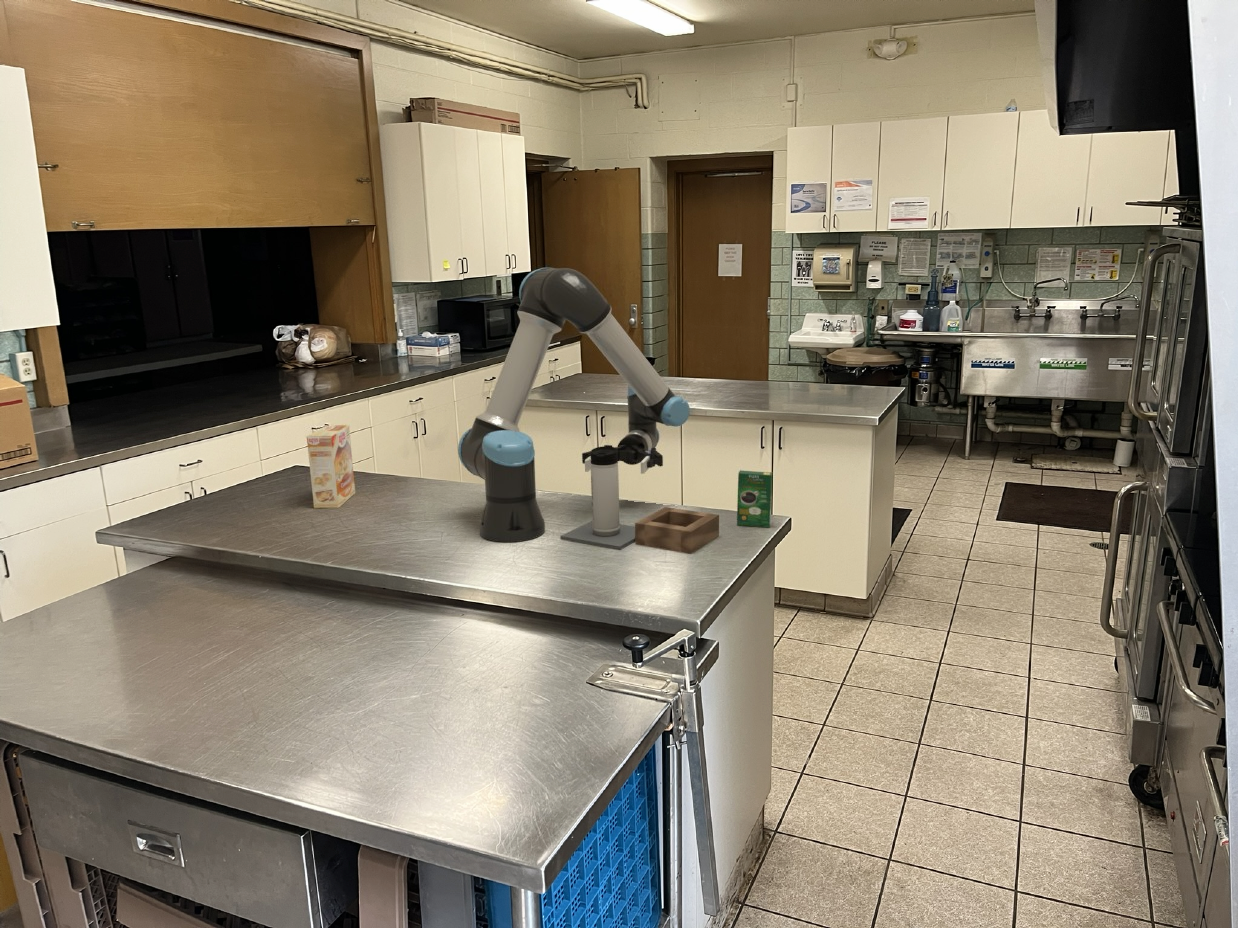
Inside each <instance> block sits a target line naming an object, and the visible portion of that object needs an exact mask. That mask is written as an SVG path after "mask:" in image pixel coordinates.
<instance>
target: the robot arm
mask: <svg viewBox="0 0 1238 928" xmlns="http://www.w3.org/2000/svg"><path fill="white" fill-rule="evenodd" d="M518 293H519V294H518V296H519V301H520V304H519V307H518V309H517V313H516V314H517V316H518V318H519V324H518V327H517V328H516V332H515V333H514V334H515V335H514V336H513V339H512V342H511V343H510V347H509V349H508V353H507V355H506V357H505V359H504V360H505V361H504V362H503V365H502V367H501V371H500V373H499V374H498V377H497V380H496V383H495V385H494V388H493V391H492V393H491V395H490V398H489V401H488V404H487V406H486V408H485V411H484V412H483V413H480V414H478V415H476V416H475V419H474V421H473V424H472V427H470V428H469V429H467V430H466V431H465V432H463V434H462V436H461V437H460V439H459V441H458V445H457V454H458V458H459V460H460V463H461V464H462V466H463V467H464V468H465V469H466V470H467V471H468V472H469V473H471V474H472V475H473V476H477V477H479V478H480V479H483V480H484V484H485V485H484V487H485V505H484V510H483V513H482V516H481V521H480V525H479V527H480V528H479V529H480V537H482V538H483V539H485V540H489V541H491V542H492V541H493V542H500V543H501V542H503V543H512V542H523V541H528V540H532V539H535V538H536V539H537V537H540V536H542V535H543V534H544V533H545V531H546V524H545V523H546V522H545V519H544V517H543V515H542V512H541V509H540V506H539V504H538V501H537V491H536V469H535V461H536V460H535V454H536V450H535V448H534V441H533V439H532V437H531V436H530V435H528V434H527V433H525V432H522V431H520V428H519V423H520V419H521V417H522V415H523V412H524V410H525V407H526V405H527V402H528V401H529V400H528V399H529V397H530V394H531V392H532V390H533V386H534V384H535V381H536V379H537V377H538V374H539V371H540V369H541V367H542V364H543V362H544V359H545V356H546V353H547V352H548V350H549V347H550V343H551V341H552V338H553V336H554V335H555V334H557V333H559V332H561V331H562V329H563V328H564V324H565V323H566V321H568V322H569V323H570V324H571V325H573V326H574V327H575V329H577V331H578V332H579V333H580V334H585V335H587V336H588V338H589V339H590V340H591V341H592V343H593V344H595V346H596V347H597V348H598V350H599V351H600V352H601V353H602V355H603V356H604V358H606V360H607V361H608V362H609V363H610V364H611V366H612V367H613V368H614V369H615V370H616V372H617V373H618V374H619V375H620V377H621V378H622V379H623V380H624V382H625V383H627V385H628V386H627V396H626V399H627V413H628V414H627V416H628V418H627V419H628V423H627V425H628V426H627V427H628V434H626V435H625V436H624V437H623V438H622V439H620V441H619V442H618V444H617V446H616V447H615V446H614V447H615V448H617V450H618V458H617V459H618V462H623V463H624V464H626V465H631V466H633V465H634V466H635V465H638V464H639V463H640V475H641V474H645V473H646V472H647V471H648V470H649V469H650V468H653V467H656V466H658V467H659V468H660V467H663V466H664V456H663V455H662V454H661V453H660V452H659V451H657V448H656V447H657V445H658V443H659V441H660V433H659V429H658V428H657V423H658V424H661V425H665V426H666V427H674V428H675V427H680V426H682V425H684V424H685V423H686V422H687V421H688V419H689V417H690V413H691V408H690V404H689V402H688V401H687V400H686V399H685V398H682V397H681V396H678V395H676V394H674V392H673V391H672V390H671V388H670V387H669V386H668V385H667V383H666V382H665V381H664V380H663V379H662V377H661V376H660V374H659V373H658V372H657V370H656V369H655V368H654V367H653V366H652V364H651V363H650V361H649V360H648V359H647V358H646V356H645V355H644V354H643V352H642V351H641V350H640V349H639V347H638V346H637V345H636V344H635V342H634V341H633V340H632V339H631V337H630V336H629V335H628V333H627V332H626V330H624V328H623V326H622V325H621V324H620V323H619V322H618V320H617V319H616V318H615V316H613V314H612V306H611V304H610V303H609V301H607V299H606V298H605V297H604V295H603V294H602V293H601V292H600V291H599V290H598V288H597V287H596V286H595V285H594V283H593V282H591V280H589V279H588V277H587V276H585V275H584V274H582V273H581V272H580V271H578V270H576V269H572V268H567V267H566V268H565V267H564V268H563V267H562V268H557V267H556V268H553V267H541V268H539V269H535V270H533V271H531V272H529V273H528V274H527V275H526V276H525V277H524V278H523V280H522V281H521V284H520V286H519V291H518ZM590 452H591V450H589V451H586V452H582V453H581V460H582V464H584V472H588V473H589V471H590V472H591V455H590Z"/></svg>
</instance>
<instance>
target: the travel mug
mask: <svg viewBox="0 0 1238 928" xmlns="http://www.w3.org/2000/svg"><path fill="white" fill-rule="evenodd" d="M590 451H591V452H590V455H591V470H590V483H591V484H590V486H591V487H590V489H591V490H590V491H591V492H590V493H591V494H590V495H591V518H592V519H591V521H592V525H593V533H594V534H595V535H597V536H604V537H607V536H614V535H617V534H618V533H619V532H620V526H619V525H620V524H621V523H620V490H619V489H620V488H619V487H620V485H619V484H620V483H619V461H618V459H617V458H618V450H617V448H615V446H613V444H612V445H611V444H604V445H603V446H598V447H594V448H592V449H591V450H590Z"/></svg>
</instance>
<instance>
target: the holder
mask: <svg viewBox="0 0 1238 928" xmlns="http://www.w3.org/2000/svg"><path fill="white" fill-rule="evenodd" d="M634 527H635V542H634V544H635V545H638V546H645V547H651V548H656V549H663V550H666V551H673V552H678V553H679V552H680V553H684V554H690V555H691V554H693V553H695V552H697V551H698V550H700V549H701V548H702V547H704V546H705V545H707V544H709V543H710V542H712V541H713V540H715V539H716V538H718V537H719V536H720V514H714V513H708V512H703V511H697V510H696V511H695V510H688V509H682V508H681V509H680V508H674V507H669V506H667V507H666V506H665V507H664V506H663V508H662V507H661V508H660V509H659V510H656V511H655V512H653V513H650V514H649V515H647V516H645V517H644V518H642V519H639V520H638V521H636V522H634ZM714 538H715V539H714ZM711 540H712V541H711ZM708 542H709V543H708Z"/></svg>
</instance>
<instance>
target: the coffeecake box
mask: <svg viewBox="0 0 1238 928" xmlns="http://www.w3.org/2000/svg"><path fill="white" fill-rule="evenodd" d="M305 437H306V442H307V454H308V463H309V471H310V472H309V473H310V481H311V491H312V499H313V500H312V501H313V508H314V509H319V508H320V509H338V508H341V507H342V505H344V504H345V503H346V502H347V501H348V500H349V499H350V498H351V497H353V496H354V495H355V494H356V487H355V486H356V485H355V477H354V476H355V475H354V465H353V455H352V445H351V444H352V443H351V434H350V425H346V424H345V425H343V424H341V425H324V426H323V427H321V428H319V429H318V430H316V431H314V432H312V433H310V434H309V435H307V436H305Z"/></svg>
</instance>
